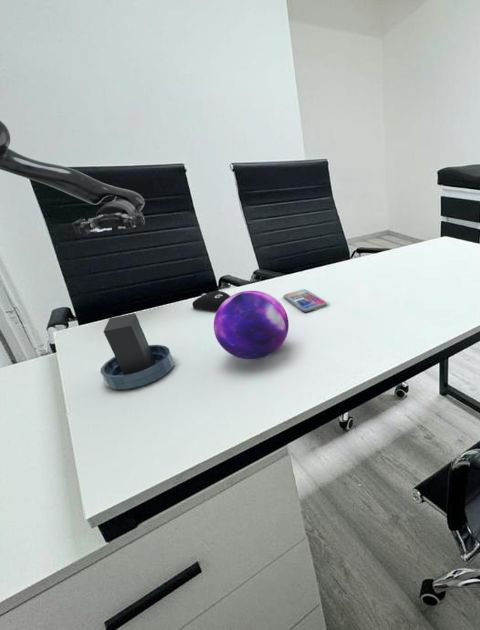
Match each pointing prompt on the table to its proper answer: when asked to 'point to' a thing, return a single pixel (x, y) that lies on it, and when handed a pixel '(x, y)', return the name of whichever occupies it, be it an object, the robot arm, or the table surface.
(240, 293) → the decorative orb
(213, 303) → the computer mouse
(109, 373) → the bowl
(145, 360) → the dark grey upright block
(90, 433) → the table surface
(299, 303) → the smartphone
